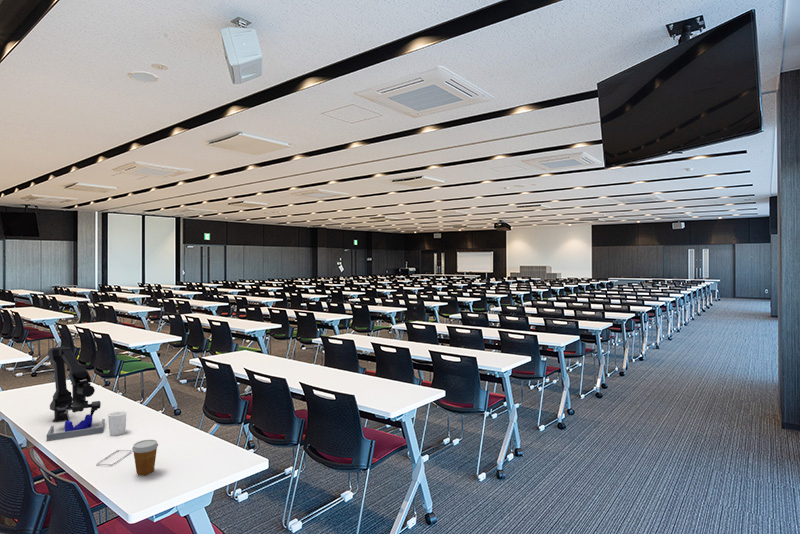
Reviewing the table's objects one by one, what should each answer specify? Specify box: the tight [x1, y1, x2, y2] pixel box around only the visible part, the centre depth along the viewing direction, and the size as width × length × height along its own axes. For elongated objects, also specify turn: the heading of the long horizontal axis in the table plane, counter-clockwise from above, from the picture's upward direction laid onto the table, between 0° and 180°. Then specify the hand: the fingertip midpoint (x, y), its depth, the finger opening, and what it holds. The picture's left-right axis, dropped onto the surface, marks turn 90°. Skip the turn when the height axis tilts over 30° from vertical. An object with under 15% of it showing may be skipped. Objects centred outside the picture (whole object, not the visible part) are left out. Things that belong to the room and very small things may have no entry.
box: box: [46, 418, 106, 442], centre depth 239 cm, size 14×23×3 cm, turn 119°
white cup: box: [107, 410, 127, 437], centre depth 238 cm, size 8×8×10 cm
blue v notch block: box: [64, 413, 93, 432], centre depth 243 cm, size 12×4×6 cm, turn 159°
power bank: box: [95, 449, 134, 467], centre depth 208 cm, size 7×1×15 cm
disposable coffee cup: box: [131, 439, 159, 476], centre depth 195 cm, size 10×10×12 cm
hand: (79, 423), depth 247 cm, fingers open, 9 cm apart
